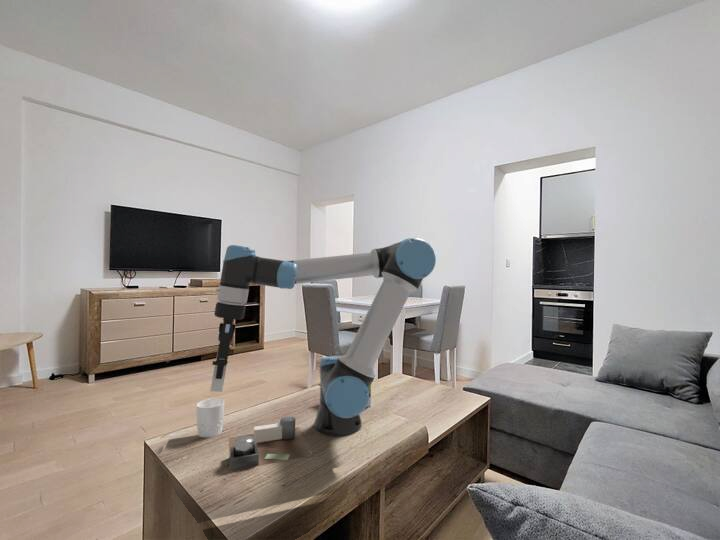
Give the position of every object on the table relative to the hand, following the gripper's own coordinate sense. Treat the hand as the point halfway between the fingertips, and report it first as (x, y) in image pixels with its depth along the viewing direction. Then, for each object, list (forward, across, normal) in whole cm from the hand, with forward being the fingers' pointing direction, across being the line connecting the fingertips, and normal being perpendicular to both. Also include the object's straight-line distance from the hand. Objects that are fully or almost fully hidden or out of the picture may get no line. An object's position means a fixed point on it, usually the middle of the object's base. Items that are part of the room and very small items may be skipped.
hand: (217, 382), depth 90 cm
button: (+16, +5, +9) cm, 19 cm away
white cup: (+21, -16, +1) cm, 26 cm away
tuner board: (+18, 0, +16) cm, 25 cm away
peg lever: (+16, -4, +18) cm, 25 cm away
